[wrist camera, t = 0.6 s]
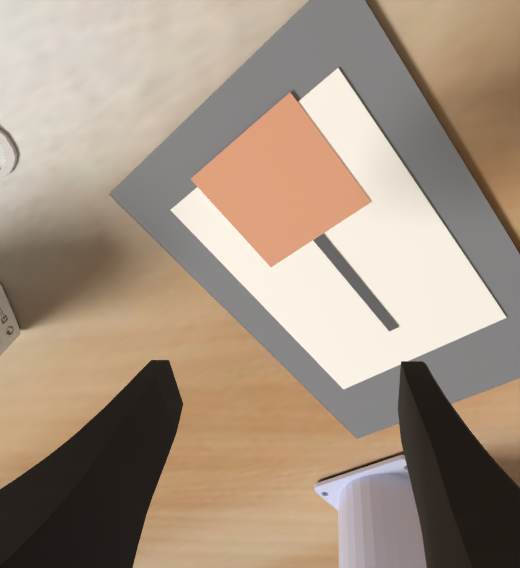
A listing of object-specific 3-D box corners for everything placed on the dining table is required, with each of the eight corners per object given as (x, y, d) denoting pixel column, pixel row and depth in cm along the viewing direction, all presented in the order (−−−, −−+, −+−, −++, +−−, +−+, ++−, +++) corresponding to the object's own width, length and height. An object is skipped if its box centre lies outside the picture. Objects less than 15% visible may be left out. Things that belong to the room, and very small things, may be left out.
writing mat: (578, 351, 23) (582, 357, 23) (356, 435, 29) (356, 440, 29) (344, -33, 15) (344, -34, 15) (111, 192, 22) (107, 195, 21)
